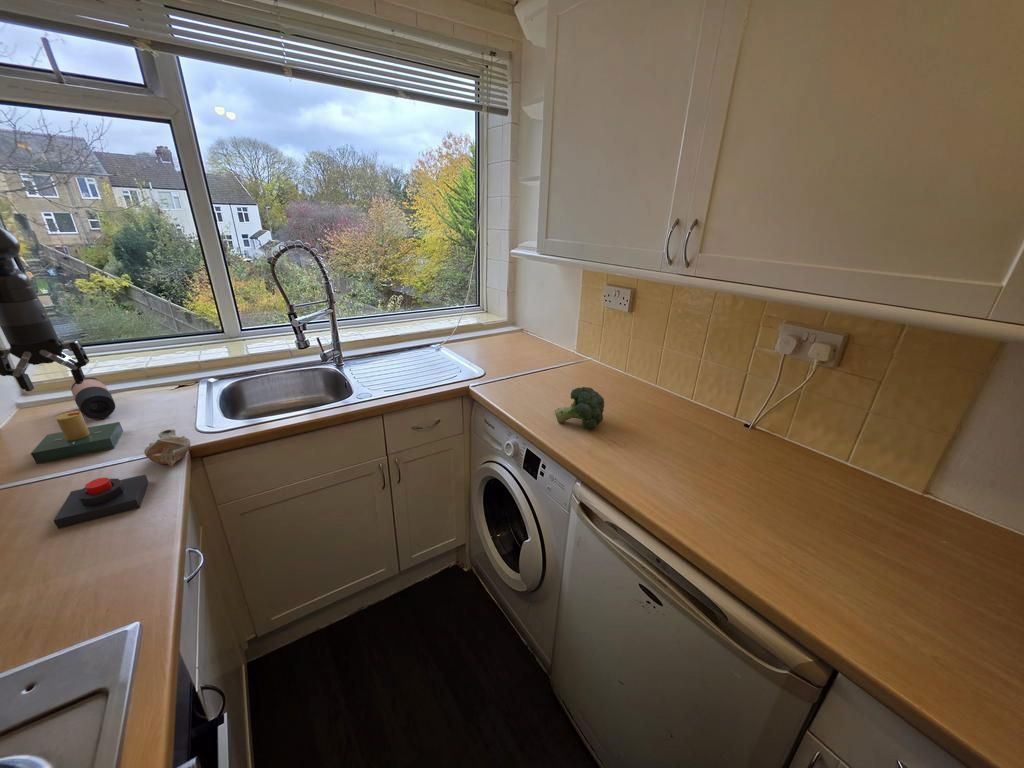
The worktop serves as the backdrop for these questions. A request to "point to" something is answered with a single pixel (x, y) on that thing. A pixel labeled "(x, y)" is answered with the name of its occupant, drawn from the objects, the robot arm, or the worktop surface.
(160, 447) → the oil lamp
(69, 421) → the dimmer knob
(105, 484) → the light button
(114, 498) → the switch block
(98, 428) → the dimmer panel
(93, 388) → the travel mug
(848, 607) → the worktop surface
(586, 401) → the vegetable
